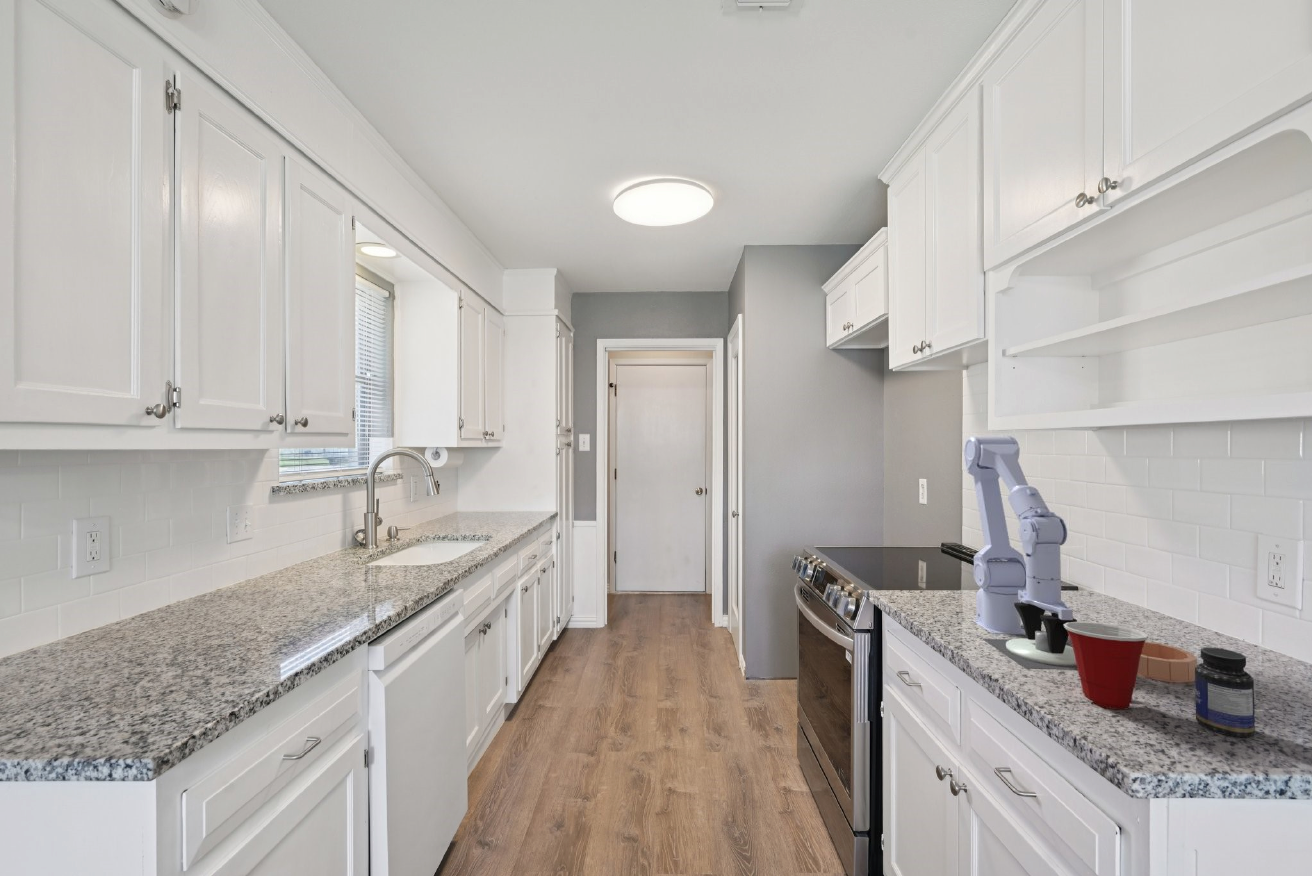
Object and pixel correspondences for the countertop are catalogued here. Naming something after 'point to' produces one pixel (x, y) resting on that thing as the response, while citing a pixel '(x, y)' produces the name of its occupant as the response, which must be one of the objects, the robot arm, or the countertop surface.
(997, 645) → the mat
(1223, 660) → the pill bottle
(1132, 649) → the plastic cup
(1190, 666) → the bowl
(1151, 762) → the countertop surface
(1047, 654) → the lid
